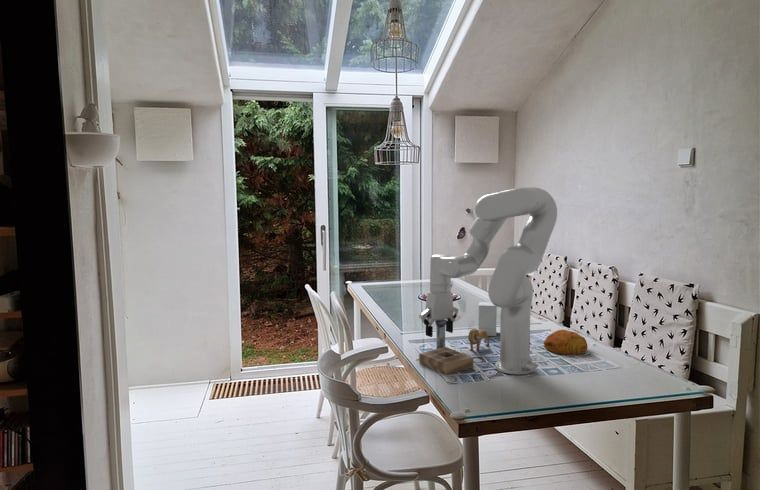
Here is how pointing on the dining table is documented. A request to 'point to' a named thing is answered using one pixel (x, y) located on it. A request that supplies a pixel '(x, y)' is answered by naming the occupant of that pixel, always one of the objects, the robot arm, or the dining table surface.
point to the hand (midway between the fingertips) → (439, 334)
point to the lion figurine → (477, 338)
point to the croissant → (565, 343)
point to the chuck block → (446, 360)
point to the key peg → (440, 333)
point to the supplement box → (487, 317)
